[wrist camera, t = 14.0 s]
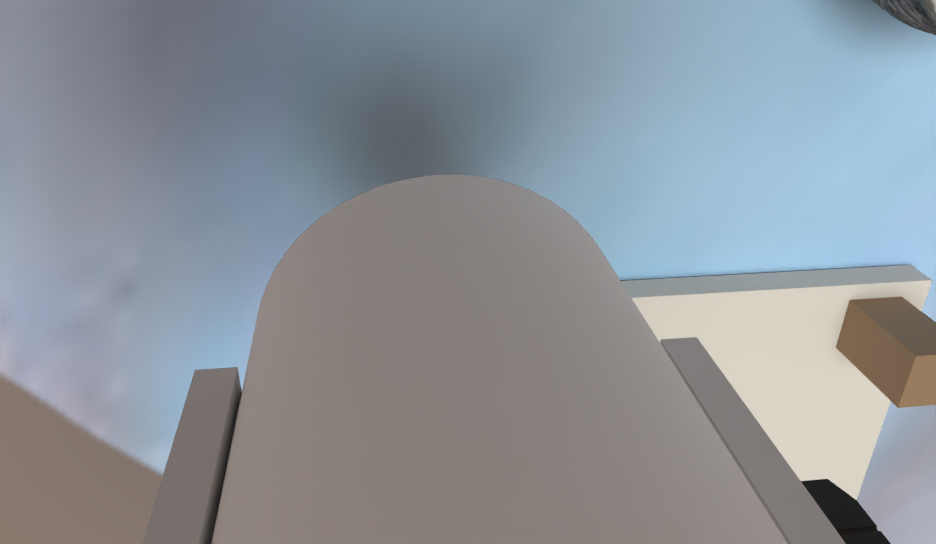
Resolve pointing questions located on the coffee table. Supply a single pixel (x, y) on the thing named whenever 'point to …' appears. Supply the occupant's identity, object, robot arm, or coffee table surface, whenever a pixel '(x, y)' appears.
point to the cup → (468, 389)
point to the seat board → (809, 353)
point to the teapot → (912, 12)
